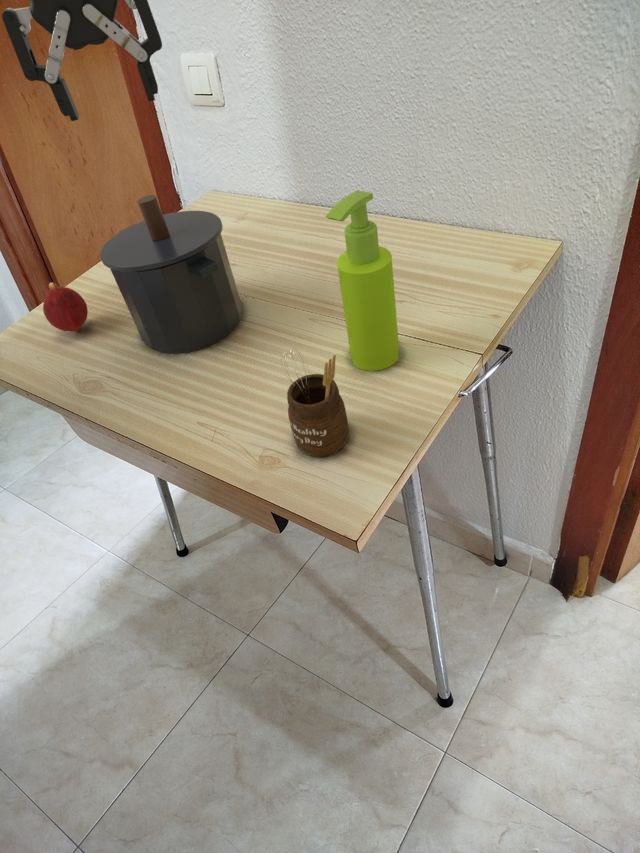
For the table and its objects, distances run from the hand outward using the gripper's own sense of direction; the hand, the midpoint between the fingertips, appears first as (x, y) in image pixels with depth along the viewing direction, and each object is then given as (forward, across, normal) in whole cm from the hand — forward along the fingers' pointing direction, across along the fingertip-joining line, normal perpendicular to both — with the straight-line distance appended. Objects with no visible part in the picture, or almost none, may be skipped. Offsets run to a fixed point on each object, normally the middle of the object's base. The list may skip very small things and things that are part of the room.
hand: (113, 109), depth 64 cm
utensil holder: (+28, -12, +30) cm, 43 cm away
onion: (+28, +17, -6) cm, 34 cm away
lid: (+15, 0, +1) cm, 15 cm away
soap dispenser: (+28, -21, +19) cm, 40 cm away
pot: (+28, 0, 0) cm, 28 cm away
